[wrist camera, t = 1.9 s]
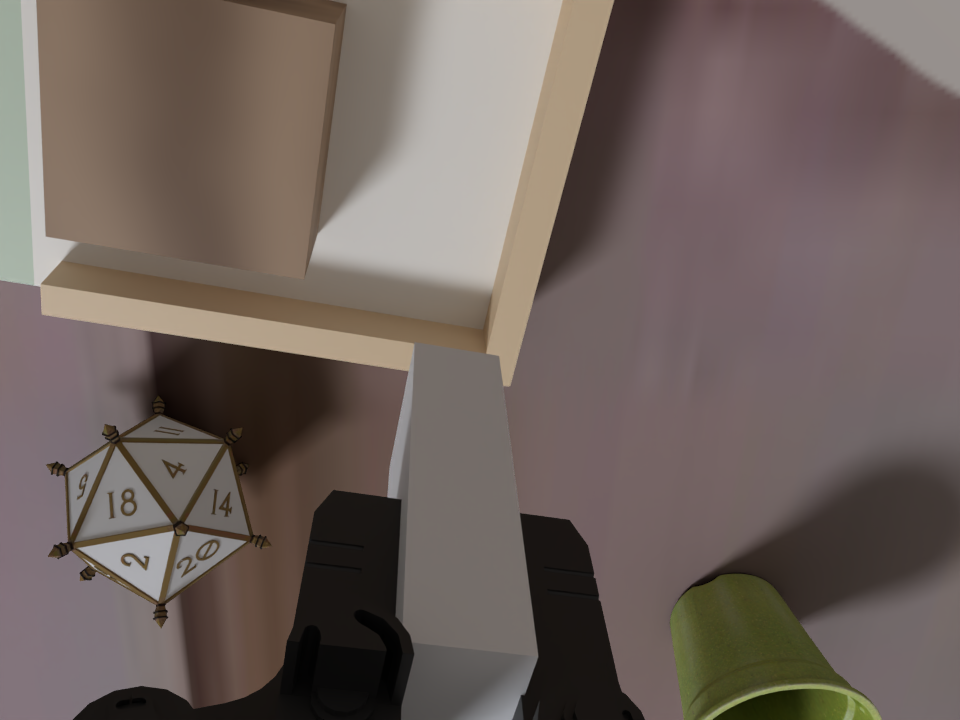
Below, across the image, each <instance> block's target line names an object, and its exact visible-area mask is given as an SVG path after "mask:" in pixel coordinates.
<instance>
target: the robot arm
mask: <svg viewBox="0 0 960 720" xmlns="http://www.w3.org/2000/svg"><path fill="white" fill-rule="evenodd" d="M593 576H594V571H593V566H592V562H591V557H590V553H589V548H588V545H587V544H586V542H585V541H584V540H583V538H582V537H581V535H580V534H579V533H578V531H577V530H576V529H575V527H574V526H573V524H572V523H571V522H570V520H566V519H559V518H551V517H544V516H537V515H529V514H522V513H520V512H519V504H518V497H517V489H516V481H515V474H514V466H513V458H512V450H511V443H510V435H509V427H508V420H507V412H506V404H505V397H504V389H503V381H502V374H501V366H500V358H499V356H497V355H491V354H485V353H479V352H473V351H467V350H460V349H454V348H448V347H442V346H436V345H430V344H424V343H417V342H415V343H414V348H413V353H412V358H411V363H410V368H409V373H408V378H407V383H406V388H405V393H404V398H403V403H402V408H401V413H400V418H399V423H398V428H397V433H396V438H395V443H394V448H393V453H392V458H391V463H390V470H389V484H388V497H381V496H373V495H366V494H359V493H351V492H344V491H336V490H333V491H332V492H331V493H330V495H329V496H328V497H327V498H326V499H325V500H324V501H323V503H322V504H321V505H320V506H319V507H318V508H317V510H316V511H315V512H314V518H313V523H312V528H311V534H310V539H309V545H308V550H307V555H306V561H305V567H304V572H303V577H302V582H301V588H300V593H299V599H298V604H297V609H296V615H295V620H294V626H293V629H292V631H291V633H290V635H289V638H288V640H287V645H286V652H285V659H284V665H283V666H282V668H281V669H280V671H279V672H278V673H277V675H276V676H275V677H274V678H273V679H272V680H271V681H270V682H269V683H267V684H266V685H265V686H264V687H263V688H262V689H260V690H258V691H256V692H254V693H252V694H250V695H249V696H247V697H245V698H241V699H238V700H235V701H231V702H228V703H224V704H218V705H213V706H208V707H202V708H197V709H193V708H192V707H191V705H190V704H189V703H188V701H187V700H185V699H183V698H181V697H179V696H178V695H176V694H174V693H172V692H170V691H168V690H166V689H159V688H151V687H144V686H139V687H134V688H128V689H122V690H117V691H113V692H111V693H109V694H107V695H105V696H103V697H101V698H99V699H97V700H95V701H93V702H91V703H89V704H88V705H87V706H86V707H85V708H84V709H83V710H82V711H81V712H80V713H79V714H78V715H77V716H76V717H75V718H74V719H73V720H645V719H644V717H643V714H642V712H641V711H640V709H639V708H638V707H637V706H636V705H635V704H634V703H633V702H632V701H631V700H630V698H629V697H628V696H627V695H626V694H624V693H623V692H622V691H621V688H620V685H619V682H618V678H617V673H616V669H615V664H614V660H613V655H612V651H611V646H610V642H609V638H608V633H607V629H606V624H605V620H604V615H603V611H602V606H601V602H600V601H599V600H598V598H599V593H598V588H597V584H596V579H595V578H594V577H593Z"/></svg>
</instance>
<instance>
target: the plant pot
mask: <svg viewBox="0 0 960 720" xmlns="http://www.w3.org/2000/svg"><path fill="white" fill-rule="evenodd" d="M670 628H671V634H672V641H673V647H674V654H675V660H676V667H677V674H678V681H679V688H680V695H681V702H682V709H683V716H684V720H882V718H881V716H880V714H879V712H878V710H877V708H876V707H875V706H874V704H873V703H872V702H871V701H870V700H869V699H868V698H867V697H866V696H865V695H864V694H862V693H861V692H859V691H858V690H856V689H854V688H852V687H851V686H850V684H849V683H848V682H847V681H846V680H845V679H844V678H843V677H841V676H840V675H838V674H837V673H836V672H835V671H834V670H833V668H832V667H831V666H830V664H829V663H828V662H827V660H826V659H825V657H824V656H823V655H822V653H821V652H820V651H819V649H818V648H817V646H816V645H815V644H814V642H813V641H812V639H811V638H810V637H809V635H808V634H807V633H806V631H805V630H804V628H803V627H802V626H801V624H800V623H799V621H798V620H797V619H796V617H795V616H794V614H793V613H792V611H791V610H790V609H789V607H788V606H787V604H786V603H785V601H784V600H783V599H782V597H781V596H780V595H779V593H778V592H777V591H776V589H775V588H774V587H773V586H772V585H771V584H769V583H768V582H767V581H765V580H763V579H761V578H759V577H756V576H752V575H747V574H725V575H720V576H718V577H717V578H716V579H714V580H713V581H711V582H709V583H707V584H704V585H701V586H696V587H692V588H691V589H689V590H688V591H687V592H686V593H685V594H684V595H683V596H682V597H681V598H680V599H679V600H678V602H677V603H676V605H675V607H674V609H673V611H672V614H671V619H670Z"/></svg>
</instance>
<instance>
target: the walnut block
mask: <svg viewBox="0 0 960 720" xmlns="http://www.w3.org/2000/svg"><path fill="white" fill-rule="evenodd" d="M36 7H37V32H38V57H39V83H40V108H41V133H42V158H43V183H44V208H45V234H46V237H51V238H57V239H63V240H69V241H75V242H81V243H87V244H93V245H99V246H105V247H111V248H117V249H123V250H129V251H135V252H141V253H147V254H153V255H159V256H165V257H171V258H177V259H183V260H189V261H195V262H201V263H207V264H213V265H219V266H224V267H230V268H236V269H242V270H248V271H254V272H260V273H266V274H272V275H278V276H284V277H290V278H296V279H302V280H304V279H305V275H306V272H307V268H308V265H309V262H310V258H311V255H312V251H313V248H314V245H315V241H316V238H317V235H318V228H319V220H320V212H321V204H322V196H323V188H324V180H325V173H326V165H327V157H328V149H329V141H330V133H331V125H332V117H333V110H334V102H335V94H336V86H337V78H338V70H339V62H340V54H341V46H342V39H343V31H344V23H345V15H346V7H347V4H345V3H340V2H335V1H331V0H36Z"/></svg>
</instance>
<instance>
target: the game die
mask: <svg viewBox="0 0 960 720" xmlns="http://www.w3.org/2000/svg"><path fill="white" fill-rule="evenodd" d="M152 404H153V407H152V408H153V411H155V415H153V416H151V417H150V418H148V419H146V420H144V421H143V422H141V423H139V424H138V425H136V426H134V427H133V428H131V429H129V430H127V431H126V432H124V433H122V434H121V435H119V432H118V430H116V426H110V425H106V424H105V426H104V431H103V433H102V435H104V436H105V439H107V440H109V442H108V443H106V444H105V445H103V446H102V447H100V448H99V449H97V450H96V451H94V452H93V453H91V454H90V455H88V456H86V457H85V458H83V459H82V460H80V461H79V462H77V463H76V464H74V465H73V466H71V467H70V468H66V467H65V466H64V465H63V464H59V463H58V462H57V461H56V463H52V464H47V465H46V466H47V467H48V468H49V470H50V471H51V475H53V474H56V476H59V475H63V476H65V489H66V511H67V533H68V542H67V543H62V542H61V543H60V544H59V545H54V547H53V549H52V551H51V552H50V554H49V555H48V557H55V558H57V559H59V558H61V557H63V556H65V555H67V554H69V551H72V552H74V553H75V554H76V555H77V556H78V557H79V558H80V559H82V560H83V561H84V562H85V563H86V564H87V565H88V566H87V567H86V568H85V569H84V570H83V571H82V572H80V581H84V580H92V577H94V576H95V572H98V573H100V574H102V575H103V576H105V577H107V578H109V579H110V580H112V581H114V582H116V583H118V584H119V585H121V586H123V587H125V588H126V589H128V590H130V591H132V592H134V593H135V594H137V595H139V596H141V597H142V598H144V599H146V600H148V601H150V602H151V603H153V604H155V605H156V610H155V612H153V614H155V618H153V620H155V621H156V622H157V623H158V625H159V626H160V627H161V628H162V626H163V624H164V622H165V621H166V619H167V618H168V616H167V612H168V611H167V610H166V608H165V605H166V603H168V602H169V601H171V600H172V599H173V598H175V597H176V596H177V595H179V594H180V593H182V592H183V591H184V590H186V589H187V588H188V587H190V586H191V585H192V584H194V583H195V582H197V581H198V580H199V579H201V578H202V577H203V576H205V575H206V574H208V573H209V572H210V571H212V570H213V569H214V568H216V567H217V566H219V565H220V564H221V563H223V562H224V561H225V560H227V559H228V558H230V557H231V556H232V555H234V554H235V553H236V552H238V551H239V550H240V549H242V548H243V547H245V546H246V545H247V544H249V543H253V544H254V545H255V547H260V549H262V548H266V547H271V546H272V545H271V544H270V542H269V541H268V540H267V538H266V537H267V536H265V537H262V536H261V535H259V536H255V535H253V532H252V528H251V524H250V520H249V516H248V512H247V508H246V504H245V500H244V496H243V492H242V488H241V484H240V480H239V476H238V475H242V474H246V471H247V468H248V466H249V465H247V464H244V463H243V462H242V463H240V464H238V465H236V464H235V460H234V456H233V452H232V448H231V443H235V442H236V441H237V439H240V438H241V437H242V436H241V433H242V428H237V429H232V428H231V429H230V430H231V431H230V432H229V433H228V432H227V436H226V438H225V439H223V438H221V437H218V436H216V435H213V434H210V433H208V432H205V431H203V430H200V429H198V428H195V427H193V426H190V425H188V424H185V423H183V422H180V421H177V420H175V419H172V418H170V417H167V416H165V415H163V411H164V410H165V407H164V405H165V404H166V403H165V402H163V400H162V399H161V398H160V397H159V395H158V397H157V398H156V400H155V401H154V402H152Z"/></svg>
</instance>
